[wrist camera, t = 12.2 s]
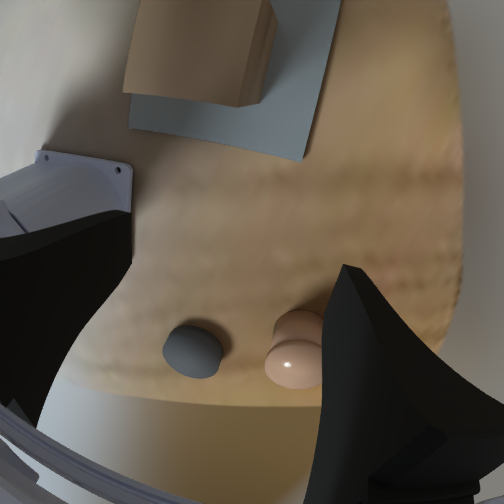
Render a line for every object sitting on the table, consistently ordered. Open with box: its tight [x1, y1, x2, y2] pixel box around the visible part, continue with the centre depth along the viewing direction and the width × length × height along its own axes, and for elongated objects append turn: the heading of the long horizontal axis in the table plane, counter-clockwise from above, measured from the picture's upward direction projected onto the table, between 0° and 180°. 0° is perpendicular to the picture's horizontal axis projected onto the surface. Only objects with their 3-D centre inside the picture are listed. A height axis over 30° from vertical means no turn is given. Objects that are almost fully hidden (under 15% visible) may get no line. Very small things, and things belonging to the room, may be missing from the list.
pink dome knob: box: [265, 310, 323, 389], centre depth 22 cm, size 5×5×4 cm
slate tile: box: [128, 0, 341, 163], centre depth 15 cm, size 11×11×1 cm
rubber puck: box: [163, 326, 223, 379], centre depth 26 cm, size 5×5×2 cm
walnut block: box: [122, 0, 278, 108], centre depth 12 cm, size 5×5×6 cm
